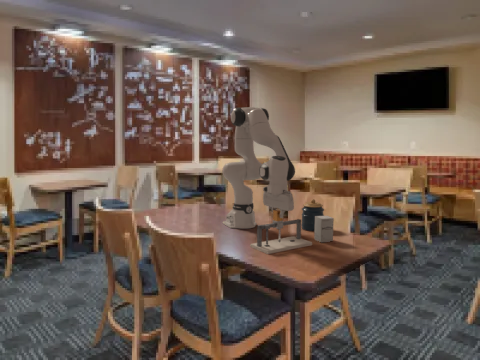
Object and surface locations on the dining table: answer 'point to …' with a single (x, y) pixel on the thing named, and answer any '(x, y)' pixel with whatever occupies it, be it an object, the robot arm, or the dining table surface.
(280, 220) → the leg
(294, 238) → the hole plate
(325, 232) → the supplement box
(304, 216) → the canister
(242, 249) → the dining table surface
